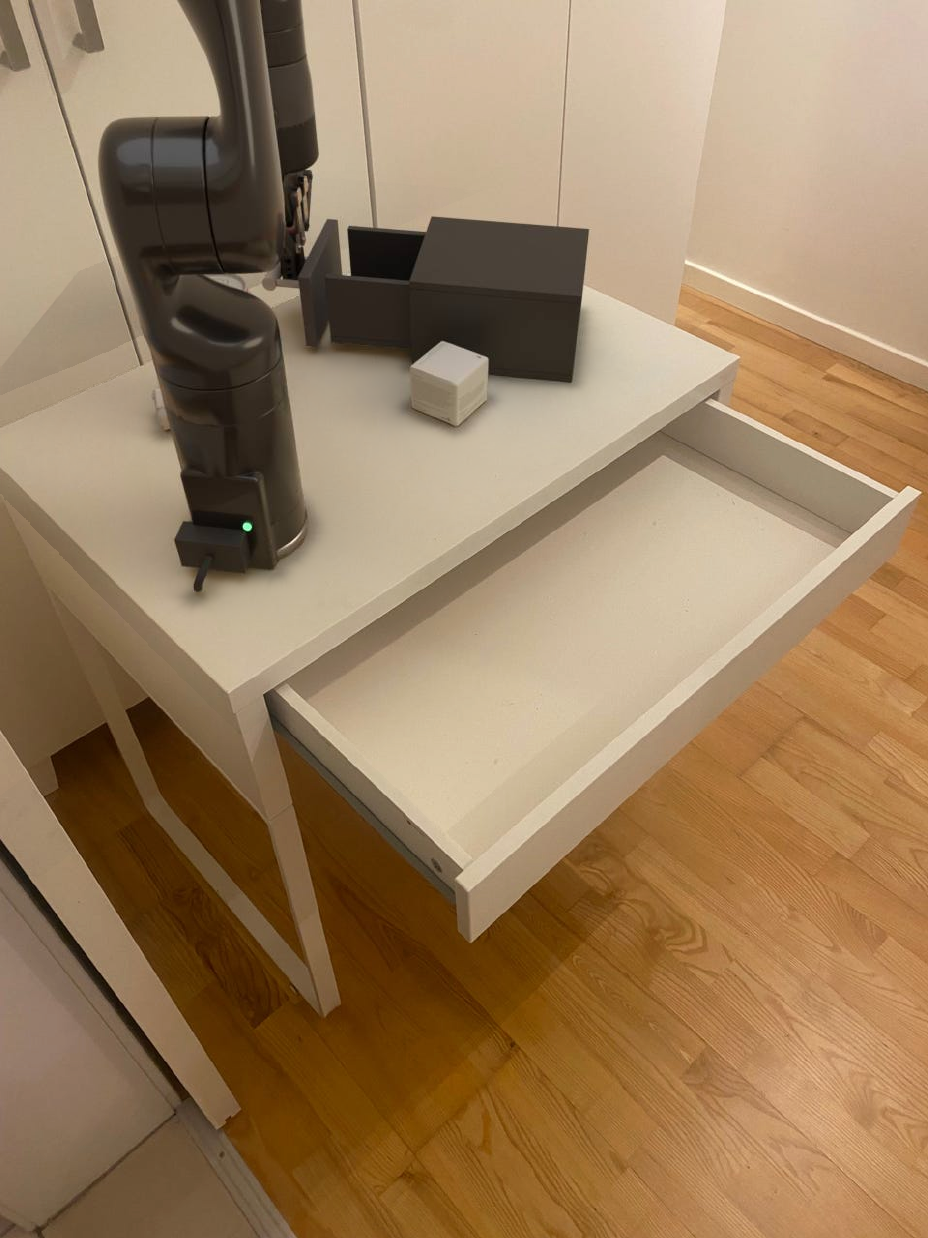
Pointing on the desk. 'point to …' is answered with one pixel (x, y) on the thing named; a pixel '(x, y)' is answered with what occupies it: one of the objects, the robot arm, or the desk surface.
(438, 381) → the small box
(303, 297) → the open dark drawer
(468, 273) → the dark brown box
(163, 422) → the smartwatch
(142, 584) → the desk surface
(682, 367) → the desk surface
